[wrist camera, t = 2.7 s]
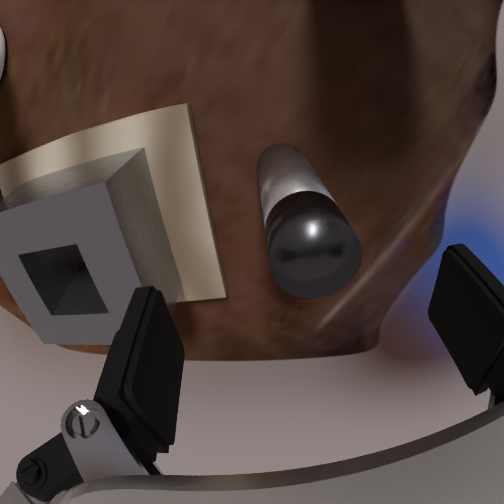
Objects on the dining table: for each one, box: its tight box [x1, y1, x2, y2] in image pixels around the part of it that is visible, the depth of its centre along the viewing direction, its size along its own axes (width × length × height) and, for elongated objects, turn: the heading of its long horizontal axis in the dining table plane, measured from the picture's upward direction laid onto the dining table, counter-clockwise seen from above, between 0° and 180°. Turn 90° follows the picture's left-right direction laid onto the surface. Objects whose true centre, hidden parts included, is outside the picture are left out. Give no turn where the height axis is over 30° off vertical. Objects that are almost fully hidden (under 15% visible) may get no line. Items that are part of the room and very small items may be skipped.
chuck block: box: [0, 147, 181, 345], centre depth 17 cm, size 15×10×6 cm, turn 97°
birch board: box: [0, 103, 227, 302], centre depth 20 cm, size 16×14×1 cm
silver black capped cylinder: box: [257, 144, 362, 299], centre depth 15 cm, size 3×3×10 cm
